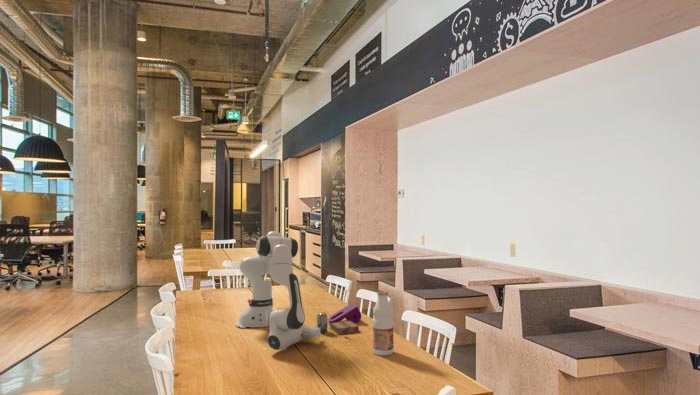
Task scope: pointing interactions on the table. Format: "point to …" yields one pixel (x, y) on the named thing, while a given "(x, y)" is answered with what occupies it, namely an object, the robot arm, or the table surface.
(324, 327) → the grey can
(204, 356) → the table surface
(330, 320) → the mounting bracket
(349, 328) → the stand
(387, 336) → the fruit juice
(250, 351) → the table surface
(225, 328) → the table surface
